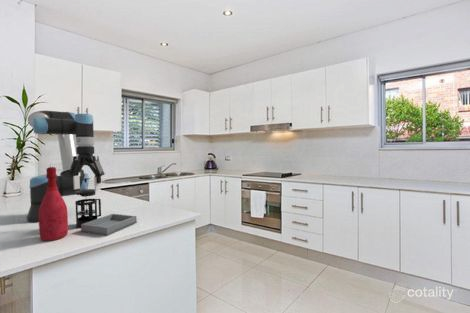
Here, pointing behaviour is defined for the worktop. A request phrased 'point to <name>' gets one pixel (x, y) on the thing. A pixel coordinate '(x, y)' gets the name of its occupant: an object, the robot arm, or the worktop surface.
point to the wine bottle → (52, 211)
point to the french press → (83, 202)
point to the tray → (108, 224)
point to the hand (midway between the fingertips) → (87, 189)
